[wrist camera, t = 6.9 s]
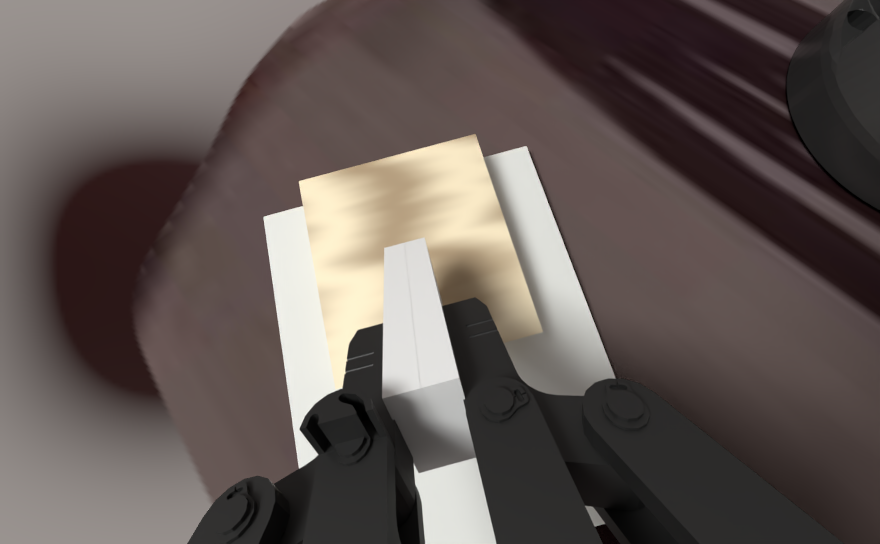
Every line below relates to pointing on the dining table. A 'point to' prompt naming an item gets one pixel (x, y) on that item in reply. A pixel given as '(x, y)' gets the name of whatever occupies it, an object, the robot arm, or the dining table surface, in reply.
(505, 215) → the rubber mat
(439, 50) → the dining table surface
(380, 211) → the birch slab
